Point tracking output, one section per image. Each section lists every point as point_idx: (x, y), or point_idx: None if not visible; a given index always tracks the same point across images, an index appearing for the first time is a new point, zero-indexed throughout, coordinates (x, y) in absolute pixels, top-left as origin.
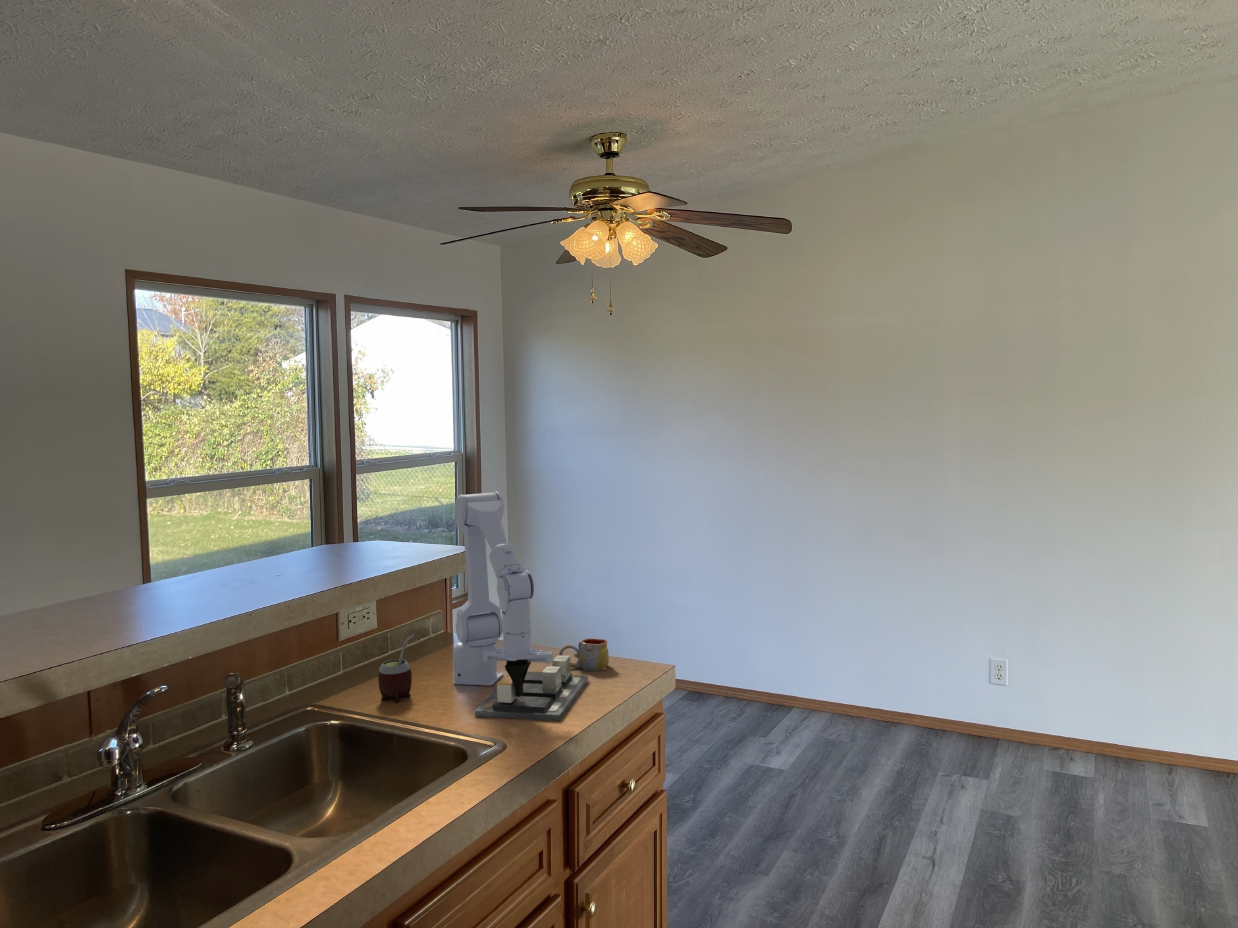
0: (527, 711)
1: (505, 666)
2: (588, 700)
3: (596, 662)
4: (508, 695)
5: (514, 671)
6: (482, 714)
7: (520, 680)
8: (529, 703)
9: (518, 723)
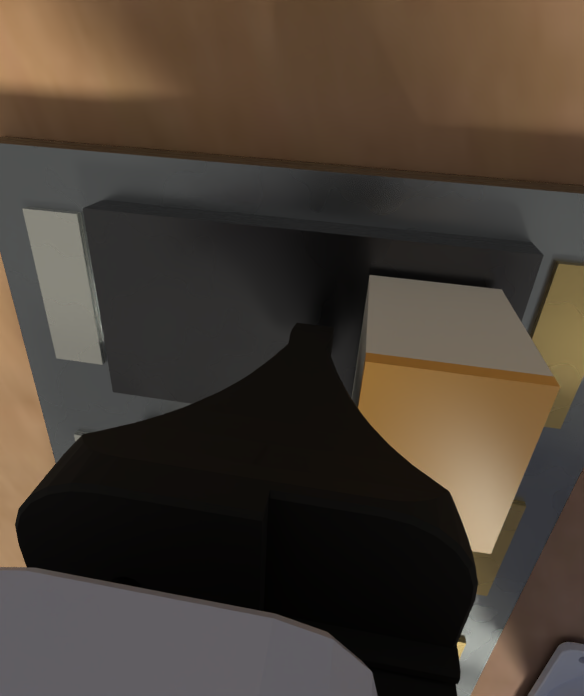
0: (231, 207)
1: (456, 542)
2: (10, 443)
3: None
4: (396, 303)
5: (272, 447)
6: None
7: (235, 383)
8: (226, 286)
9: (276, 54)
